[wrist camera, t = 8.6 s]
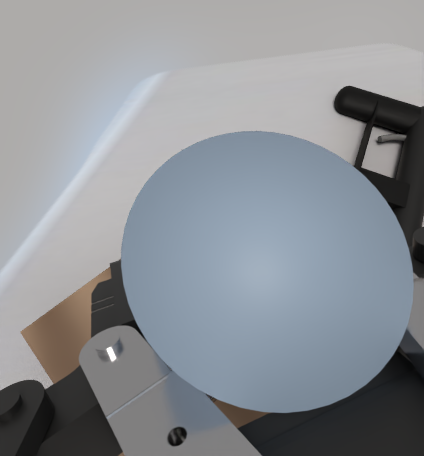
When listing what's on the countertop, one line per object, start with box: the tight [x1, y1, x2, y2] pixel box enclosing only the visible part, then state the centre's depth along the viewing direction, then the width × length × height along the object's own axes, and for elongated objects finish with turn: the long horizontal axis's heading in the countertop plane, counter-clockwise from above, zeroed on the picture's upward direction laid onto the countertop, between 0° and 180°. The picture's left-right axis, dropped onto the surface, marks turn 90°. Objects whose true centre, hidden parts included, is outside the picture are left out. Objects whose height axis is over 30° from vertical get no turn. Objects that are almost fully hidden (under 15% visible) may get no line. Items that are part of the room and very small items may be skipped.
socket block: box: [21, 259, 273, 456], centre depth 26 cm, size 18×18×3 cm
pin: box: [121, 131, 414, 413], centre depth 11 cm, size 4×4×12 cm
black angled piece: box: [335, 86, 424, 247], centre depth 35 cm, size 3×20×16 cm
